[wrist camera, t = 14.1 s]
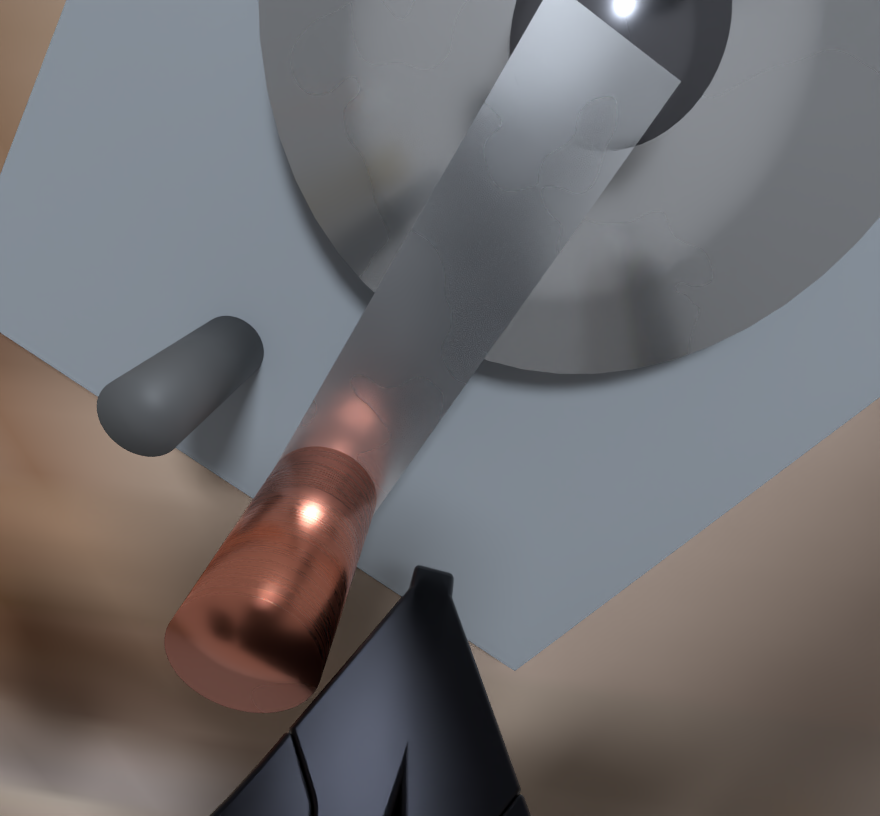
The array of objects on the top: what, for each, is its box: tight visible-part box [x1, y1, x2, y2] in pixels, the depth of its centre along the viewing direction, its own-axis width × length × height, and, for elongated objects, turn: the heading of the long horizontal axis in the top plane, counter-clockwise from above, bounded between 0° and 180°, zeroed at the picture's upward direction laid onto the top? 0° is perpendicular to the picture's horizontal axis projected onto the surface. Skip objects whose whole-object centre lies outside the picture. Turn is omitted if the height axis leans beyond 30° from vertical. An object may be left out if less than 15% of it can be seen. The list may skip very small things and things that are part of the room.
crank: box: [165, 0, 880, 713], centre depth 6 cm, size 13×9×5 cm
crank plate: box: [0, 0, 880, 671], centre depth 8 cm, size 16×14×4 cm
